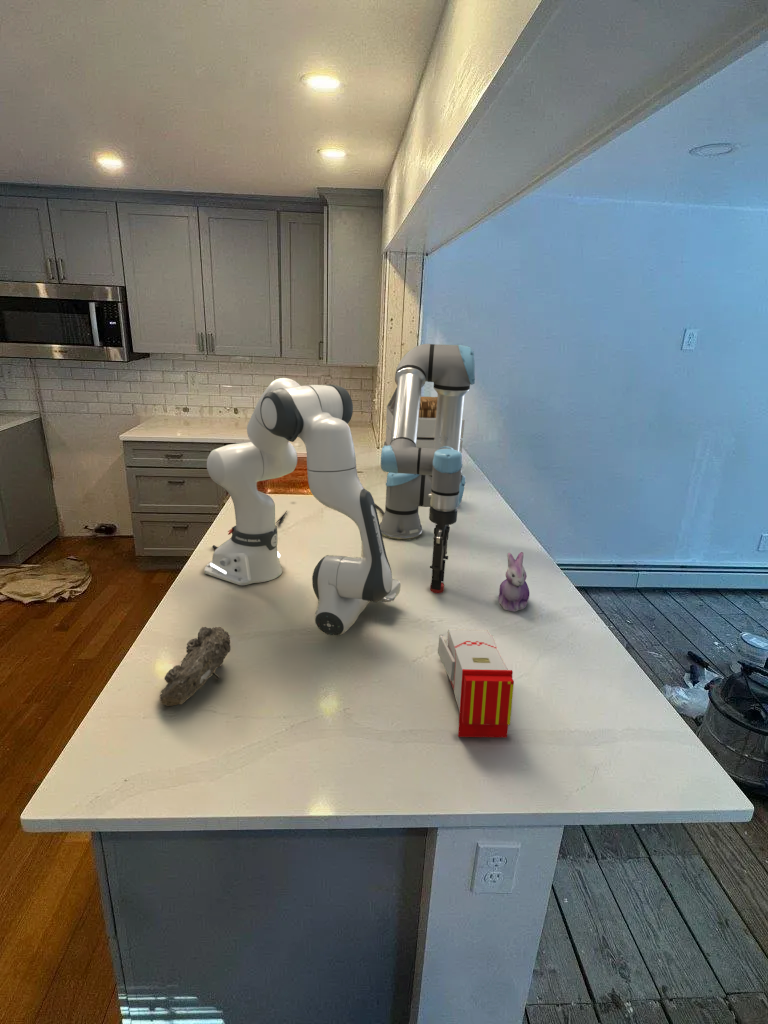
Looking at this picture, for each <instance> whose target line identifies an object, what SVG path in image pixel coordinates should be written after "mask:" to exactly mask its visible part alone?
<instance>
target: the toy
mask: <svg viewBox="0 0 768 1024" xmlns="http://www.w3.org/2000/svg"><path fill="white" fill-rule="evenodd" d="M446 640H447V643H446V641H445V639H444V636H443V635H442V634H439V637H438V646H437V656H438V657H439V659H440V661H441V663H442V666H443V668H444V670H445V672H446V674H447V677H448V679H449V681H450V684H451V687H452V690H453V693H454V697H455V701H456V705H457V708H458V711H459V714H458V715H459V716H458V730H457V731H458V732H457V737H458V738H508V731H509V726H510V725H511V717H512V707H513V697H514V696H513V695H514V684H515V680H514V679H513V673H514V671H513V670H512V669H508V667H507V665H506V662H505V661H504V659H503V658H502V655H501V653H500V651H499V649H498V647H497V643H496V639H495V637H494V635H493V634H491V632H490V631H489V629H467V628H466V629H465V628H463V629H461V628H460V629H459V628H448V630H447V639H446Z"/></svg>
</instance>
